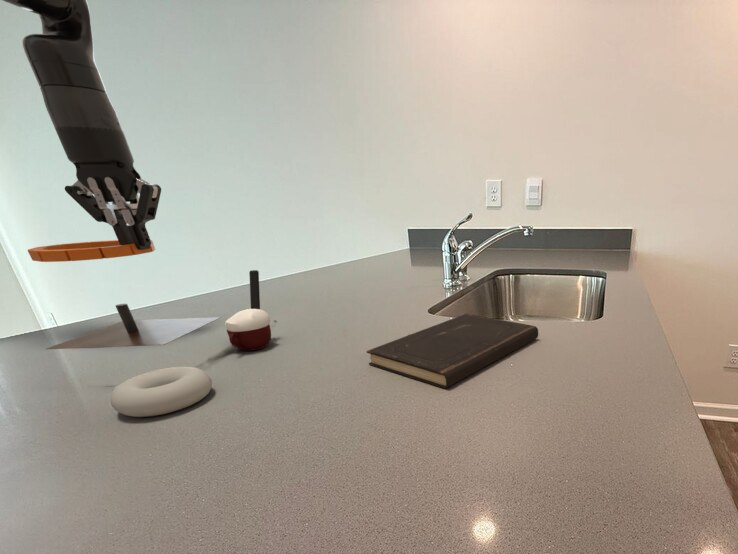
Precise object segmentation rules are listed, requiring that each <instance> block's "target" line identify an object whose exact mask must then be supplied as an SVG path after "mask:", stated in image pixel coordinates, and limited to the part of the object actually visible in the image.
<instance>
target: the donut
mask: <svg viewBox="0 0 738 554" xmlns="http://www.w3.org/2000/svg"><path fill="white" fill-rule="evenodd" d="M212 387H213V381H212V379H211V377H210V375H209V374H208V372H206V371H205V370H203V369H200V368H198V367H193V366H173V367H165V368H159V369H155V370H151V371H148V372H144V373H141V374H138V375H136V376H133V377H131V378H128V379H127V380H124V381H123V382H121V383H119V384H118V385H117V386H116V387H115V388H114V389H113V391H112V392H111V393H110V405H111V407H112V408H113V409H114V410H115V411H117V412H118V413H120V414H122V415H124V416H127V417H135V418H143V417H144V418H145V417H156V416H161V415H167V414H170V413H173V412H176V411H181V410H183V409H186V408H188V407H190V406H193V405H195V404H196V403H198V402H200V401H201V400H203V399H204V398H205V397H206V396H207V395H208V394H209V393H210V391H211V389H212Z"/></svg>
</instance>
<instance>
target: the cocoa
mask: <svg viewBox="0 0 738 554" xmlns="http://www.w3.org/2000/svg"><path fill="white" fill-rule="evenodd" d="M248 276H249V297H250V300H249V301H250V308H247V309H243V310H240V311H237V312H236V313H235V314H233V315H232V316H231V317H228V318H227V319H226V321H225V322H224V327H225V329H226V333H227V335H228V339H229V343H230V344H231V345H232V346H233V347H234V348H236V349H238V350H242V351H247V352H248V351H249V352H250V351H257V350H262V349H263V348H265V347H267V346H268V345H269V344H270V343H271V340H272V330H271V325H270V324H271V318H270V315H269V313H267V312H266V311H264V310H263V309H261V299H260V271H259V270H257V269H253V270H251V269H250V271H249V275H248Z"/></svg>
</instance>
